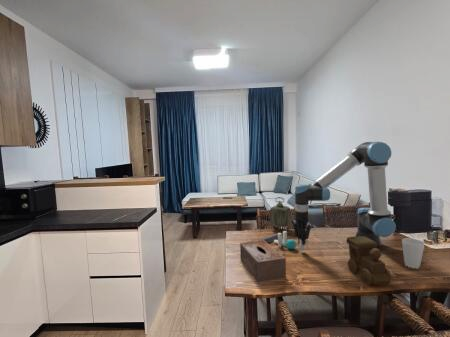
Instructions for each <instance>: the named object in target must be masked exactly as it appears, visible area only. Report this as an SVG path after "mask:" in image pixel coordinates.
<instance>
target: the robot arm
mask: <svg viewBox="0 0 450 337" xmlns="http://www.w3.org/2000/svg"><path fill="white" fill-rule="evenodd" d="M391 157H392V149H391V147H390V146H389V145H388V144H387V143H385V142H382V141H365V142H363V143H361V144H359V145H357V146H356V147H355V148H354V149H352V150H351V151H350V152H348V153H347V156H346V157H345V158H343V159H342V160H341V161H339V162H338V163H337V164H336V165H334V166H333V167H332V168H330V169H329V170H328V171H327V172H326V173H324V174H322V176H321V177H318V179H316V180H315V181H313V182H312V183H308V184H303V183H301V184H300V183H299V184H296V185H295V187H294V202H295V204H294V210H295V212H294V216H295V218H294V220H291V224H292V226H293V231H294V235H295V238H297V240H298V241H297V242H298V246H299V248H298V249H299V251H304V250H305V245H306V240H308V239H309V237H310V233H311V228H312V226H313V224H312V223H310V222H309V202H311V201H312V202H315V201H316V202H320V201H321V202H324V201H325V202H326V201H329V200H330V199H331V191H330V189H329V188H328V187H330V186H331V185H332V184H334V183H335V182H336V181H337V180H339V179H341V178H342V177H343V176H344V175H346V174H348V172H350V171H351V170H352V169H354V168H355V167H359V166H361V165H362V164H363V165H364V167H365V169H367V178H368V179H367V180H368V193H369V195H368V196H369V207H359V208H358V209H357V213H356V214H357V230H356V234H355V236H354V237H357V236H362V237H367V238H369V239H371V240H373V241H374V242H376V243H377V249H379V248H380V247H382V240H381V238H387V237H390V236H392V235H393V234H394V233H395V231H396V228H397V225H396V223H395V221H394V220H393V219H392V213H391V211H390V209H388V198H387V182H386V180H387V179H386V168H387V167H388V165H389V159H391Z"/></svg>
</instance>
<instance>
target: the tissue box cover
mask: <svg viewBox="0 0 450 337" xmlns="http://www.w3.org/2000/svg"><path fill="white" fill-rule="evenodd" d="M259 240H260V239H259ZM239 246H240V248H239V249H240V253H239V254H240V261H241V262H242V263H243V265H244V266H245V267H246V268H247V270H248V271H249V272H250V273H251V275H252V276H253V278H255V280H256V282H257V283H261V281H262V282H268V281H273V280H277V279H278V280H279V279H283V278H284V279H285V278H287V266H286V265H287V258H286V257H285V256H284V255H283V254H282V253H280V252H279V251H278V250H277V249H275V248H274V247H273V246H272V245H270V244H269V242H268V243H267V242H266V241H265V240H260V241H258V240H253V241H246V242H240V244H239Z"/></svg>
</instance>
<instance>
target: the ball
mask: <svg viewBox="0 0 450 337" xmlns="http://www.w3.org/2000/svg"><path fill="white" fill-rule="evenodd" d="M296 246H297V243H296V241H295V239H287V242H286V248H287V249H289V250H294V249H295V248H296Z"/></svg>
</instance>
